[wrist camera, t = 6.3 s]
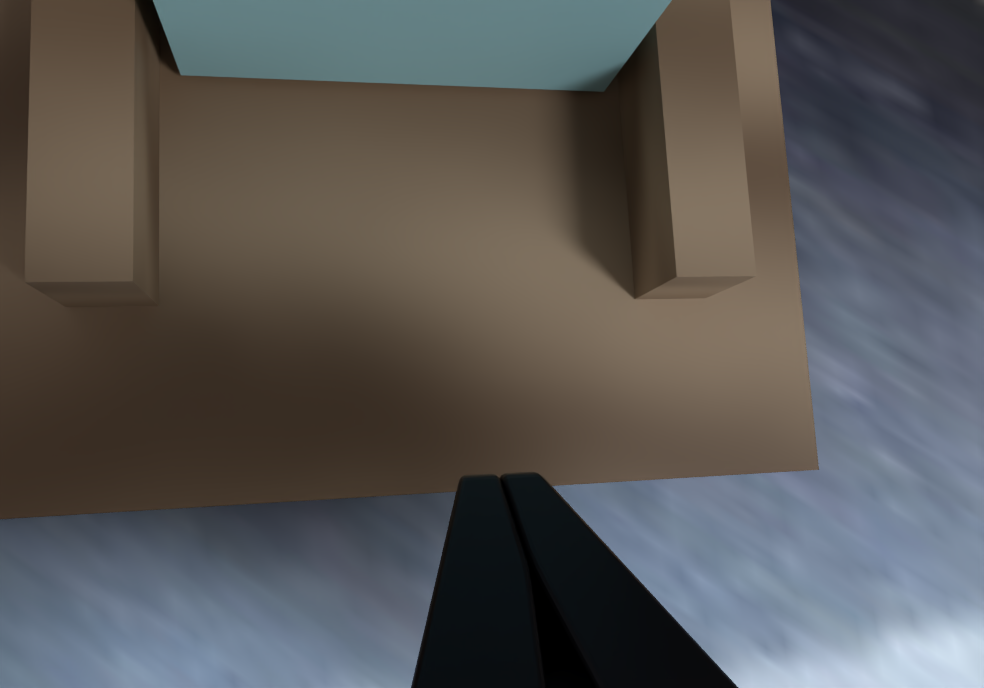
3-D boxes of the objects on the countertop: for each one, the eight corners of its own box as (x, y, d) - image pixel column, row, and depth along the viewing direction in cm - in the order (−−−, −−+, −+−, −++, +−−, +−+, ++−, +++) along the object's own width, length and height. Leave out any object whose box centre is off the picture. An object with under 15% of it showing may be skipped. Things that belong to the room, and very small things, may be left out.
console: (778, 469, 18) (1434, 476, 7) (-40, 518, 15) (-980, 655, 4) (721, -122, 20) (1176, -798, 9) (-16, -192, 17) (-620, -1353, 6)
